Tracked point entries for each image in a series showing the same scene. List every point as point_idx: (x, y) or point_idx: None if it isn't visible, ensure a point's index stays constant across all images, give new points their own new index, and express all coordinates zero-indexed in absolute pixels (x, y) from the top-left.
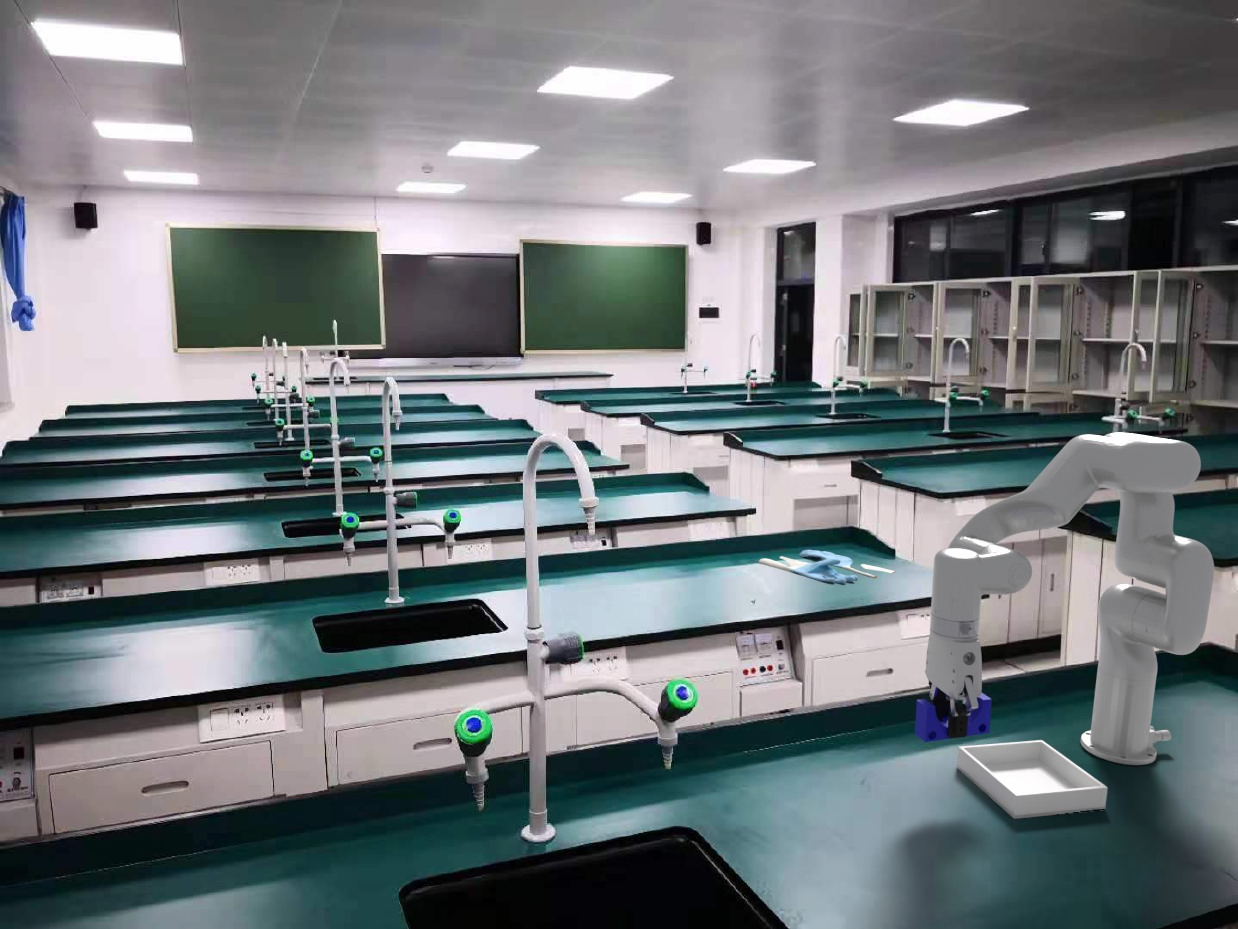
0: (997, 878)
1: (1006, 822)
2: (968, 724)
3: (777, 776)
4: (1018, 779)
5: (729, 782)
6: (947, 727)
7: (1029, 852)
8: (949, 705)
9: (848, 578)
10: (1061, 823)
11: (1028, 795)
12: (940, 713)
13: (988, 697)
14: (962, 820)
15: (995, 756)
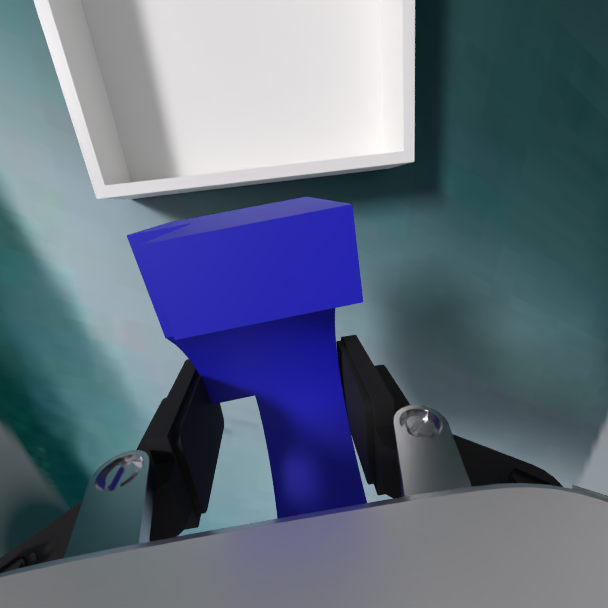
0: (558, 305)
1: (398, 195)
2: (331, 333)
3: None
4: (205, 39)
5: None
6: (342, 428)
7: (509, 204)
8: (185, 414)
9: None
10: (424, 42)
11: (413, 117)
12: (209, 427)
13: (303, 219)
14: (378, 290)
15: (85, 53)
